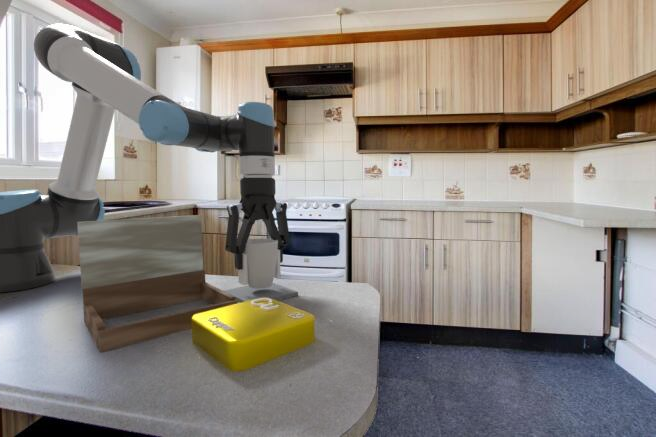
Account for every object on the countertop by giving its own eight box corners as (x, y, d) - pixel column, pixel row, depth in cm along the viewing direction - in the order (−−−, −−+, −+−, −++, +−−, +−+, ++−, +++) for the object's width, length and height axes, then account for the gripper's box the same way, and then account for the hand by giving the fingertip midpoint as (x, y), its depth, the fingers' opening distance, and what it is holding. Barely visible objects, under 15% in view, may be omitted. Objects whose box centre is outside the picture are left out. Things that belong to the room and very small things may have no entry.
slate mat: (223, 294, 81) (223, 290, 81) (269, 284, 89) (269, 281, 89) (249, 307, 72) (249, 303, 72) (298, 295, 80) (298, 291, 80)
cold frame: (83, 320, 65) (77, 222, 64) (203, 296, 80) (200, 215, 78) (100, 352, 53) (92, 230, 51) (238, 316, 67) (235, 220, 65)
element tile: (187, 341, 57) (186, 312, 57) (266, 317, 68) (266, 292, 67) (234, 377, 46) (233, 341, 46) (320, 342, 57) (320, 312, 56)
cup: (282, 281, 84) (281, 238, 83) (273, 291, 76) (272, 244, 75) (248, 280, 85) (247, 238, 84) (236, 290, 77) (234, 243, 76)
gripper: (220, 175, 69) (224, 293, 71) (305, 177, 82) (306, 275, 84) (204, 176, 74) (208, 285, 76) (287, 177, 88) (288, 270, 90)
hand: (260, 280), depth 80 cm, fingers closed on cup, 8 cm apart
